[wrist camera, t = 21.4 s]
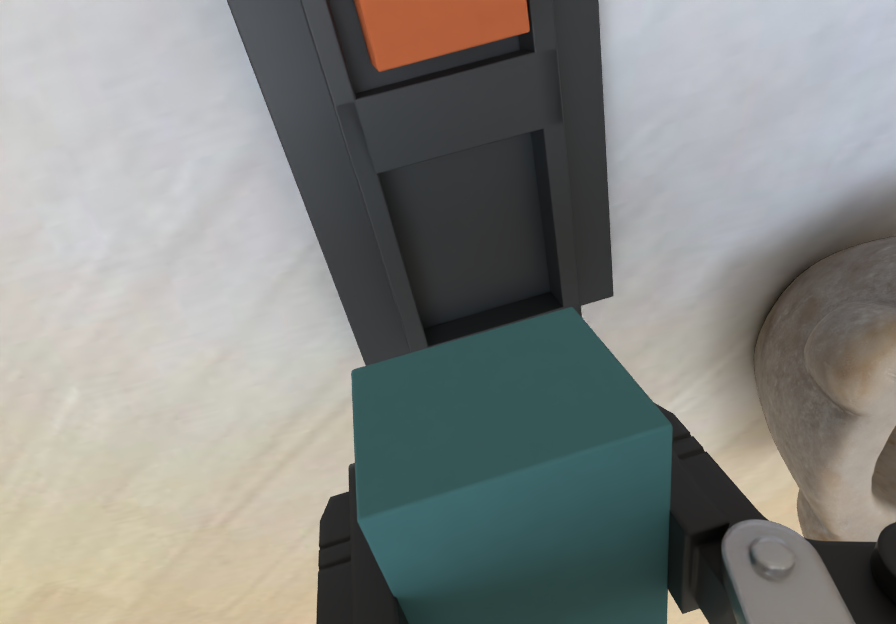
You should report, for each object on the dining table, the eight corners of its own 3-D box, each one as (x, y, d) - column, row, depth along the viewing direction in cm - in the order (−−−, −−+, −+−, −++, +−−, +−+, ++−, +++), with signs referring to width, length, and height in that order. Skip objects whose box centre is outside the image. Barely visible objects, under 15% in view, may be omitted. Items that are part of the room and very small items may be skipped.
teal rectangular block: (350, 369, 10) (356, 522, 7) (572, 304, 10) (675, 425, 7) (423, 553, 13) (449, 714, 10) (591, 500, 13) (667, 643, 10)
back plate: (153, -217, 14) (112, -271, 12) (560, -307, 15) (607, -377, 12) (365, 351, 24) (368, 389, 22) (599, 282, 25) (629, 312, 22)
